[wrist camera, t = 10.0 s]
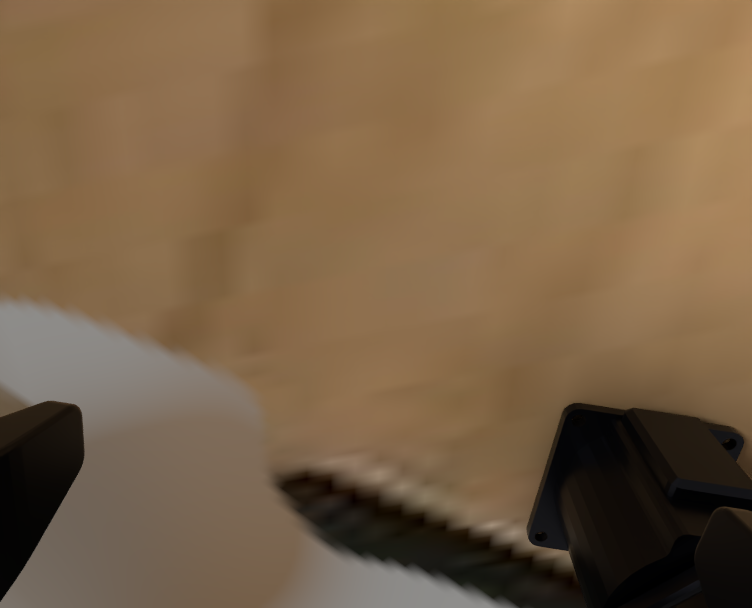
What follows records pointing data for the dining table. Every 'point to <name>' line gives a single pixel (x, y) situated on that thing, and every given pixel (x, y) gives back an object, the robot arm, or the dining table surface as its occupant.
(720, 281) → the dining table surface
